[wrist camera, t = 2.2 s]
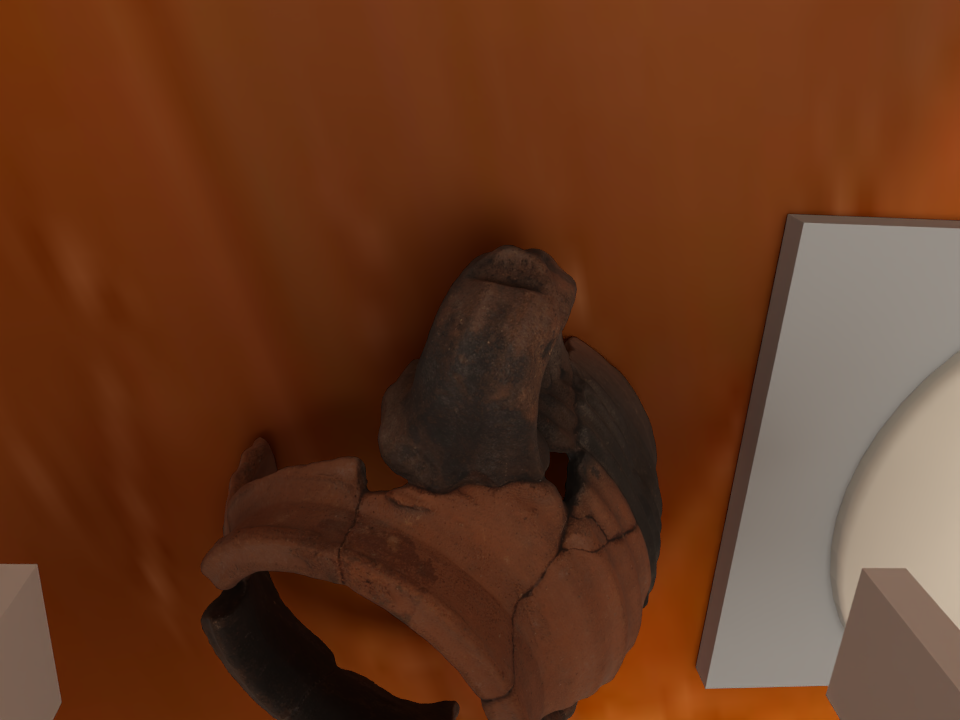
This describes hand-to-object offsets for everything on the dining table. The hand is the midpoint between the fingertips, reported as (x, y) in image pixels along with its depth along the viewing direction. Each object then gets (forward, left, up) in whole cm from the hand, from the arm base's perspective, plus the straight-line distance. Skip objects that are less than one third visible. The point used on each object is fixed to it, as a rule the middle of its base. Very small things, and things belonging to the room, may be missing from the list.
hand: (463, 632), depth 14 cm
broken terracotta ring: (0, 0, -7) cm, 7 cm away
